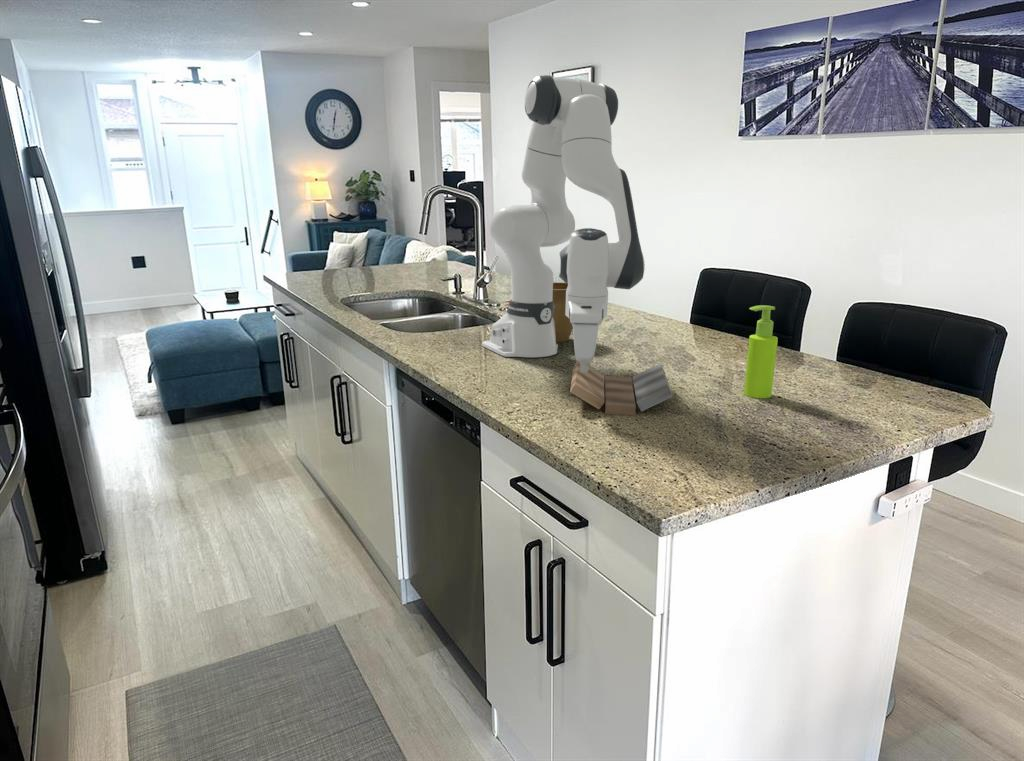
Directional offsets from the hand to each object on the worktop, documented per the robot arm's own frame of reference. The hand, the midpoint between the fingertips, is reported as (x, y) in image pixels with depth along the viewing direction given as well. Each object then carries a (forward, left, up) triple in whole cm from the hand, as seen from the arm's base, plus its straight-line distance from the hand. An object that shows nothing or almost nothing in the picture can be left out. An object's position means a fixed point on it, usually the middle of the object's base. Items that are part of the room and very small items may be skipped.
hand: (584, 371), depth 156 cm
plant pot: (-47, +33, -6) cm, 58 cm away
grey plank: (+11, +11, -4) cm, 15 cm away
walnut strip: (+5, +5, -6) cm, 10 cm away
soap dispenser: (+21, +32, -6) cm, 39 cm away
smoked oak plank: (0, 0, -4) cm, 4 cm away
